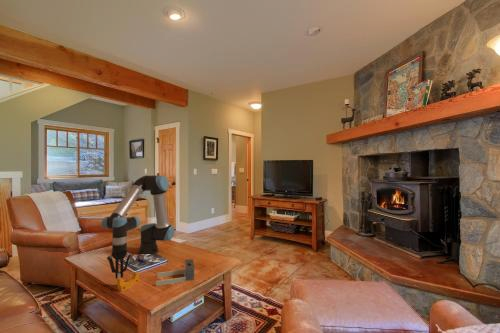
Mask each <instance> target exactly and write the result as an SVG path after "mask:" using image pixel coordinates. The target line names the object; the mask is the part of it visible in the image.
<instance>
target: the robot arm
mask: <svg viewBox="0 0 500 333" xmlns="http://www.w3.org/2000/svg"><path fill="white" fill-rule="evenodd" d="M169 185H170V183H169V180H168V178H167V176H165V175H160V174H159V175H144V176H141V177H139V178H137V179H136V180H135V181H134V182H133V183H132V184H131V185H130V187H129V188H130V189H129V191H127V192H126V195H125V196H124V197H123V198H122V200H121V201H120V202H119V204H118V205H117V206H116V207H115V209H114V211H112V213H111V214H110V216H105V217H104V218H103V219H102V221H101V227H102V229H106V230H112V243H111V244H112V246H111V248H112V249H111V251H112V252H111V254H110V255H107V257H106V260H107V261H108V262H109V267H110V269H111V273H112V274H115V279H116V280H117V279H118V278H120V277H121V278H123V279H124V272H126V271H127V269H128V266H129V261H130V258H131V257H132V253H129V252H128V248H127V247H128V245H127V244H128V243H127V242H128V237H127V234H128V231H132V230H134V229H136V228H138V227H139V226H140V224H141V220H140V218H139V216H130V217H126V215H127V214H128V212H129V211H130V209H131V208H132V207H133V205H134V203H135V202H136V200H137V199H138V198H139V196H140V195H142V194H143V193H144V192H145V191H146V192H147V191H148V192H149V193H150V195H151V196H152V197H153V204H154V212H155V219H156V223H154V222H151V223H145V224H143V225H141V227H140V245H139V248H138V255H139V254H153V255H156V254H158V252H159V247H158V243H157V241H160V242H161V241H162V242H167V241H169V242H170V241H172V239H173V237H174V234H175V226H174V225H172V223H171V221H170V220H169V216H168V209H167V202H166V201H167V200H166V195H165V194H166V193H167V190H169ZM125 257H126V261H125V264H124V259H125ZM113 259H114V261H115V262H114V261H113ZM114 263H115V265H114ZM119 263H120V264H119ZM119 266H120V267H119ZM119 269H120V270H119Z"/></svg>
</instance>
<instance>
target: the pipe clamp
mask: <svg viewBox="0 0 500 333" xmlns="http://www.w3.org/2000/svg"><path fill="white" fill-rule="evenodd" d="M116 282H117V283H116V284H117V285H116V286H117V288H116V289H117V290H118V291H120V292H124V291H126V290H128V289H130V288H132V287H133V286H134V285H136V284H138V283H140V271H138V270H136V271H134V272H133V275H132V277H131V278H130V279H129V280H128V281H125V280H124V277H123V278H121V277H120V278H117V279H116Z"/></svg>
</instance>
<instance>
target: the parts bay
mask: <svg viewBox="0 0 500 333" xmlns="http://www.w3.org/2000/svg"><path fill="white" fill-rule="evenodd" d="M175 275H178V276H179V275H183V276H182V277H175V278H170V279H169V278H168V279H163V280H162V279H161V280H160V279H159V280H156V281H155V286H157V287H158V286H163V285H171V284H177V283H184V282H187V281H186V275H185V268H184V269H177V270H176V269H175V270H170V271H169V270H168V271H163V272H157V274H156V277H157V278H162V277H168V276H169V277H170V276H175Z"/></svg>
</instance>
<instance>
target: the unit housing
mask: <svg viewBox="0 0 500 333" xmlns="http://www.w3.org/2000/svg"><path fill="white" fill-rule="evenodd" d="M184 269H185V275H186V282H188V281H193V280H194V281H195V263H194V259H193V258H190V259H184Z"/></svg>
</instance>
